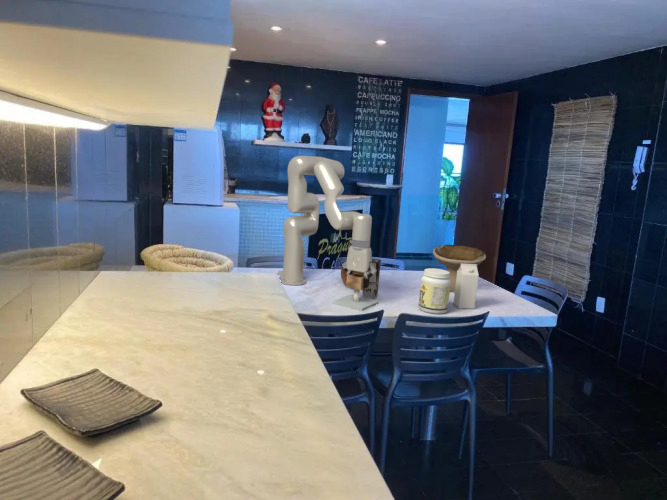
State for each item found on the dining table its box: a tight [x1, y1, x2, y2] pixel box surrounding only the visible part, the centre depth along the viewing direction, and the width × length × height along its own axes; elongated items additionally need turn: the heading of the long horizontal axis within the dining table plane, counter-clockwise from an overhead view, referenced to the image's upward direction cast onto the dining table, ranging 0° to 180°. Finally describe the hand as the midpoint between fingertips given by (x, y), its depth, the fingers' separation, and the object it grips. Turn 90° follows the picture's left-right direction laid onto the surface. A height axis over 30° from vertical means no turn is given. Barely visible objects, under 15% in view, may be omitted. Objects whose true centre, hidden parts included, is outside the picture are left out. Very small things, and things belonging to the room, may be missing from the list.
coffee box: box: [361, 258, 382, 300], centre depth 225 cm, size 9×6×16 cm
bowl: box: [432, 244, 487, 293], centre depth 248 cm, size 26×25×20 cm
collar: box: [345, 273, 370, 291], centre depth 210 cm, size 7×7×5 cm
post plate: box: [332, 289, 379, 312], centre depth 211 cm, size 14×14×6 cm
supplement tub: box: [417, 267, 451, 315], centre depth 209 cm, size 12×12×17 cm
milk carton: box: [453, 264, 479, 310], centre depth 218 cm, size 7×7×19 cm
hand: (357, 285), depth 210 cm, fingers closed on collar, 7 cm apart
